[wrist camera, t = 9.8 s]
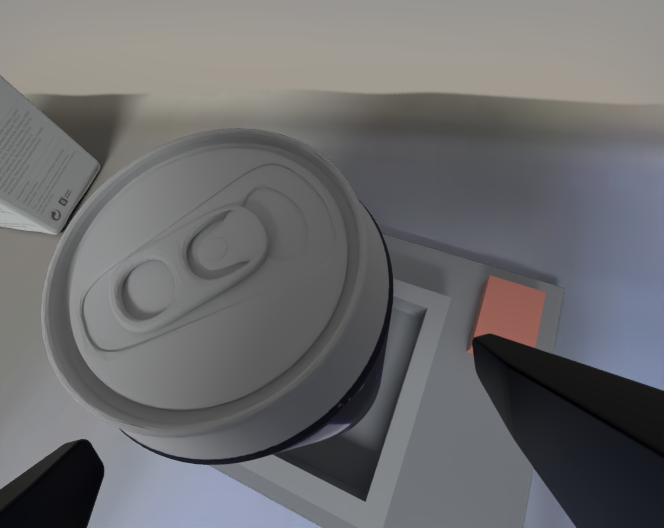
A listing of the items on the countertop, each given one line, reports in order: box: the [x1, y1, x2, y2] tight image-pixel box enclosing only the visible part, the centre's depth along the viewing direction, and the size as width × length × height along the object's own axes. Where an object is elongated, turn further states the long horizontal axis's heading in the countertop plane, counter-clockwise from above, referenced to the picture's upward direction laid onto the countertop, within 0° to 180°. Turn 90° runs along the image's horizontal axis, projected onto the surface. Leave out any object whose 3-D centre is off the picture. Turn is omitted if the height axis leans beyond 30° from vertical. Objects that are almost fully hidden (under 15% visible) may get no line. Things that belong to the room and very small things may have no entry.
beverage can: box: [41, 128, 394, 465], centre depth 11 cm, size 6×6×12 cm
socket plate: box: [209, 234, 565, 528], centre depth 15 cm, size 14×13×2 cm
